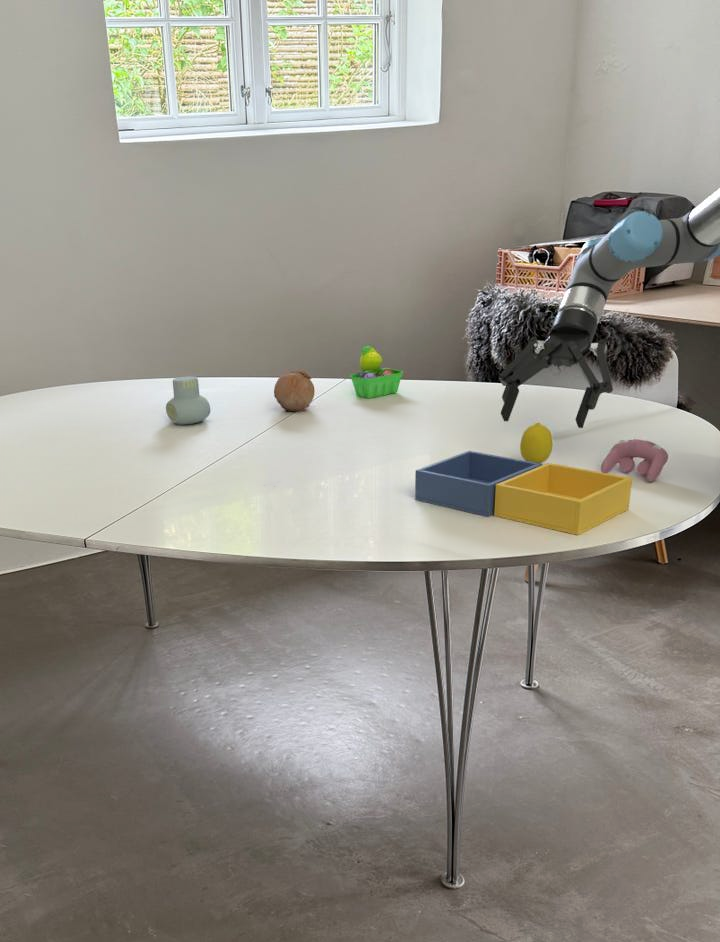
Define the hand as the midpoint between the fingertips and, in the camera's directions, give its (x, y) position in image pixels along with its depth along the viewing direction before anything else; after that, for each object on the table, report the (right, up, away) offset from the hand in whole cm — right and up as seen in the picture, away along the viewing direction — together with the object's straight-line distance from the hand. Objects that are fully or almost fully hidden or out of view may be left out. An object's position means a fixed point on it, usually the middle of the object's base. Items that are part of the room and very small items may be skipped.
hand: (540, 420), depth 169 cm
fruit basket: (-20, +22, +67) cm, 73 cm away
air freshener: (-65, +12, +53) cm, 85 cm away
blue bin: (-14, -15, -10) cm, 23 cm away
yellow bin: (-3, -19, -20) cm, 28 cm away
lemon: (0, -8, +3) cm, 8 cm away
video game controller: (+14, -11, -6) cm, 19 cm away
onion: (-40, +16, +57) cm, 72 cm away
